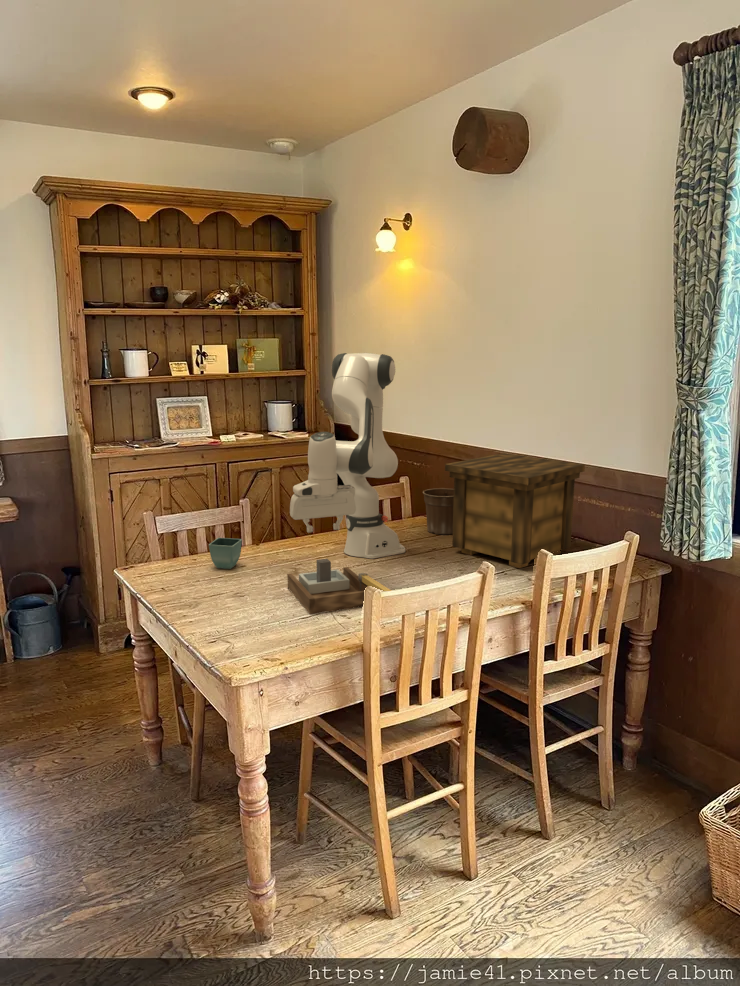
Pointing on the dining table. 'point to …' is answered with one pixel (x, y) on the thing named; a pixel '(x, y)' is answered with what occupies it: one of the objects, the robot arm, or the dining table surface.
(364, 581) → the yellow bar
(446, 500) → the plant pot
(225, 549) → the flower pot
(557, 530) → the crate
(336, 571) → the shallow grey tray
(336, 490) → the robot arm
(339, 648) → the dining table surface
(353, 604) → the tray
